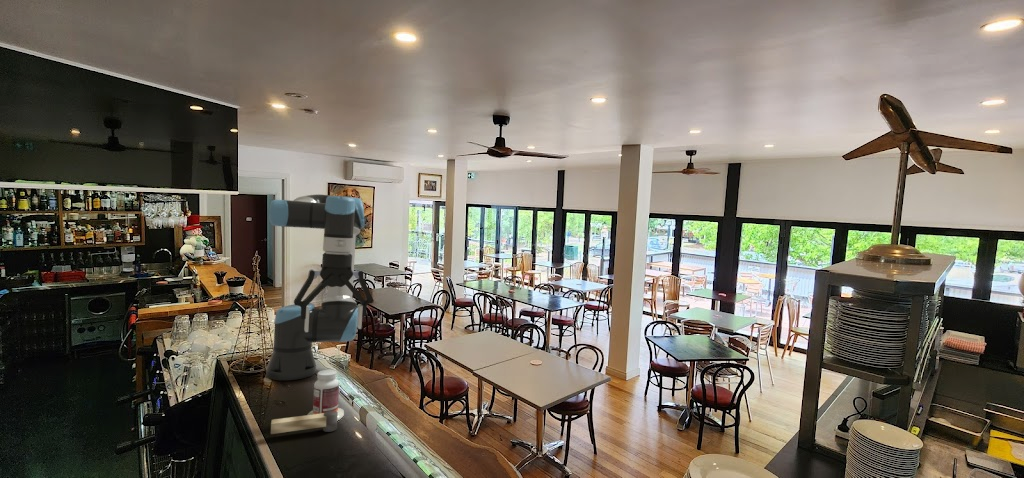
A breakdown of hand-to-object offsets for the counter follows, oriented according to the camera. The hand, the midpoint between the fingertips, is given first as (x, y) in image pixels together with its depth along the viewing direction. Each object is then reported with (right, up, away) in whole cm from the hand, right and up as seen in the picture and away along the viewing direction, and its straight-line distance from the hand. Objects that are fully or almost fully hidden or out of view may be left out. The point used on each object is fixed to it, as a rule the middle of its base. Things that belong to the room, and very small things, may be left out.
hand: (333, 329), depth 119 cm
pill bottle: (0, -22, -4) cm, 22 cm away
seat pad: (0, -23, -4) cm, 23 cm away
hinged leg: (-1, -22, -14) cm, 26 cm away
